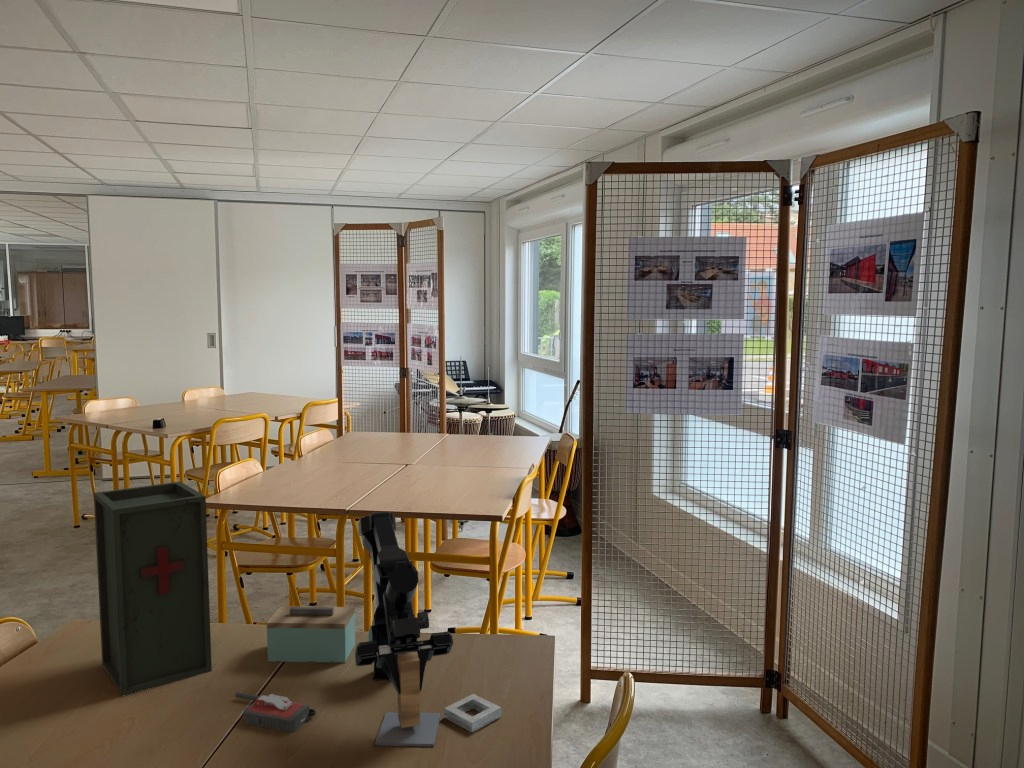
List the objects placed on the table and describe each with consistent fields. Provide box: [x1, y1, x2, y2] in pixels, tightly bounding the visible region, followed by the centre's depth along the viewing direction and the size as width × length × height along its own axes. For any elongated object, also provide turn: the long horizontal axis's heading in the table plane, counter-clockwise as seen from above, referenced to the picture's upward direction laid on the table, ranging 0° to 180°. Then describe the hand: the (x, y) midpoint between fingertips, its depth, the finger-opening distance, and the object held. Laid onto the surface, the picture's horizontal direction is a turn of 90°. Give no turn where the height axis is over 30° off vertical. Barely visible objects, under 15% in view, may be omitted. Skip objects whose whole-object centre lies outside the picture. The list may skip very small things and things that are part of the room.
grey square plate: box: [374, 711, 441, 747], centre depth 150 cm, size 11×11×1 cm
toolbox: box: [266, 605, 356, 663], centre depth 183 cm, size 18×10×11 cm, turn 89°
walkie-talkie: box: [234, 691, 317, 733], centre depth 155 cm, size 9×4×20 cm
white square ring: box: [443, 693, 502, 734], centre depth 154 cm, size 8×8×2 cm
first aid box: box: [93, 481, 213, 697], centre depth 173 cm, size 18×18×40 cm
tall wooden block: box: [397, 652, 421, 728], centre depth 149 cm, size 4×4×13 cm
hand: (409, 692), depth 148 cm, fingers closed on tall wooden block, 4 cm apart
